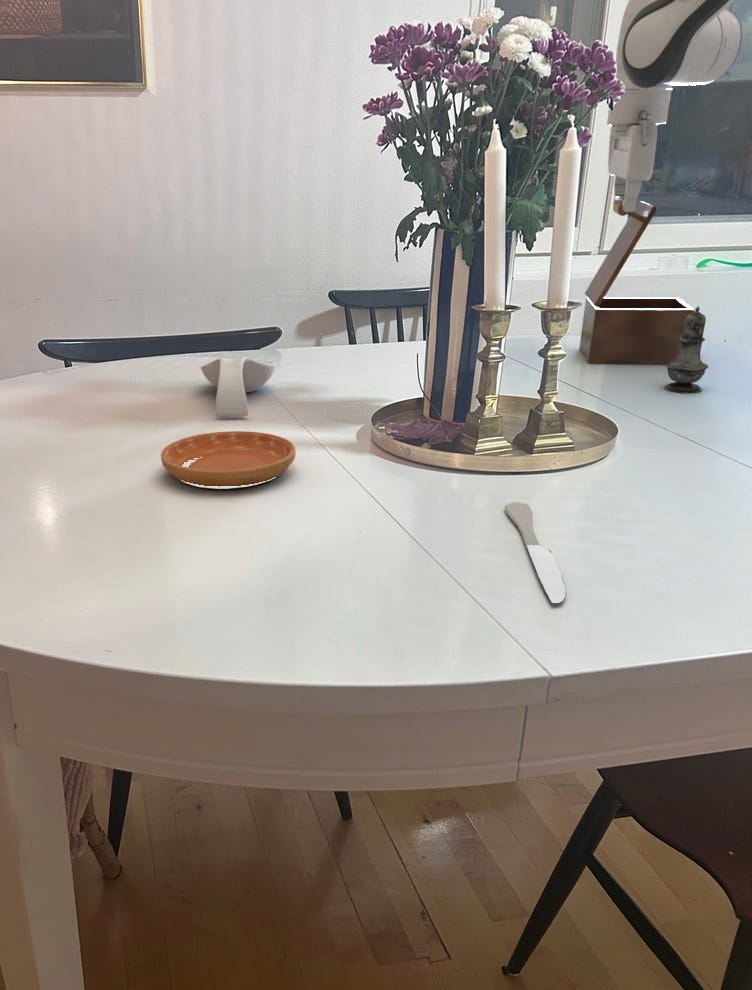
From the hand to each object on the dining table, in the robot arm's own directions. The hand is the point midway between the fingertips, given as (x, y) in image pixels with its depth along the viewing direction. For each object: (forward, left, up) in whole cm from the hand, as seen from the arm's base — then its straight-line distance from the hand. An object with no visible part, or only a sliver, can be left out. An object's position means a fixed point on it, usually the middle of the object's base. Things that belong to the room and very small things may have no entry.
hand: (623, 209), depth 152 cm
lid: (-1, 0, -7) cm, 7 cm away
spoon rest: (+58, +34, -24) cm, 72 cm away
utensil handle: (+18, +89, -23) cm, 94 cm away
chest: (-5, 0, -23) cm, 24 cm away
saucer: (+52, +69, -24) cm, 90 cm away
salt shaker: (-9, +23, -24) cm, 34 cm away
